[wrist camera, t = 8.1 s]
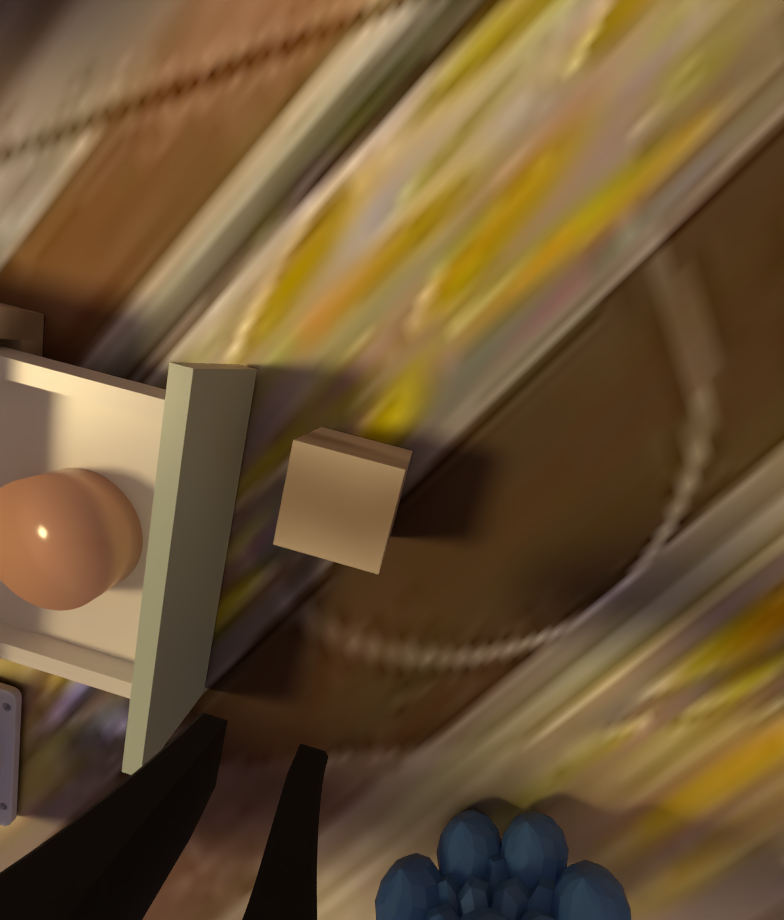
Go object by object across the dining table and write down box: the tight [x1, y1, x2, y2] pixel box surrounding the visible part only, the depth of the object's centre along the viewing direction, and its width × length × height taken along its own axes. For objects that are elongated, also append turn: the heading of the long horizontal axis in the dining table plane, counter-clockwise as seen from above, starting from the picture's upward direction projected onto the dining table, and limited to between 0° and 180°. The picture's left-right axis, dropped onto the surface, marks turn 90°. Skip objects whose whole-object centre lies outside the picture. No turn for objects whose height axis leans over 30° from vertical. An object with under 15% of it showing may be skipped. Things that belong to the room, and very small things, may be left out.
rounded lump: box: [0, 468, 143, 611], centre depth 17 cm, size 5×5×2 cm
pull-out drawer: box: [0, 346, 257, 775], centre depth 17 cm, size 16×10×5 cm, turn 166°
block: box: [273, 427, 413, 574], centre depth 17 cm, size 4×4×4 cm
